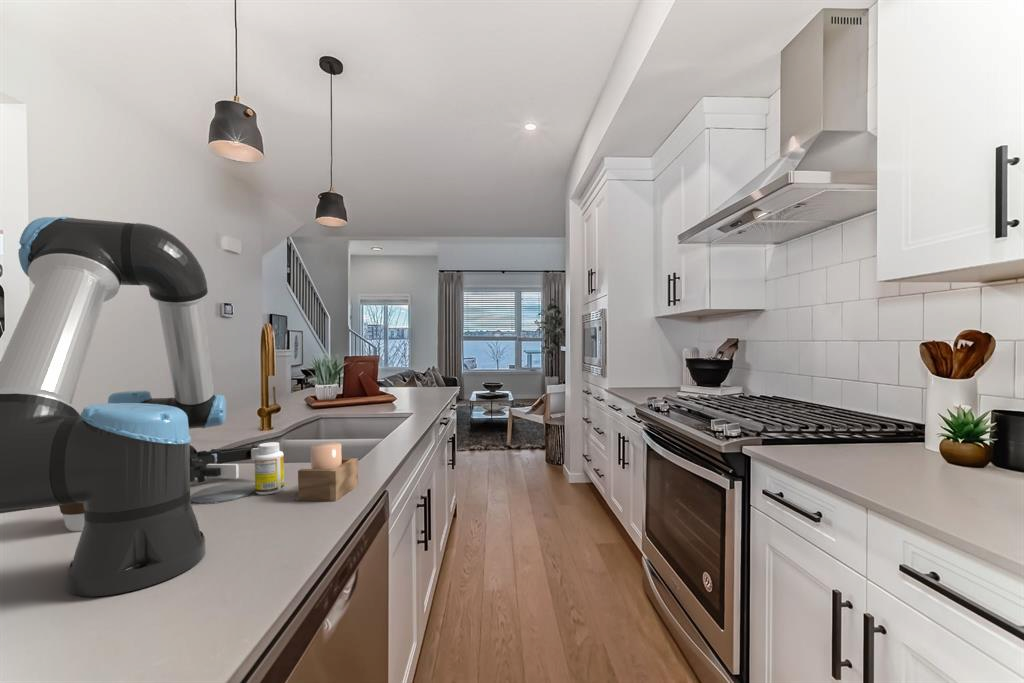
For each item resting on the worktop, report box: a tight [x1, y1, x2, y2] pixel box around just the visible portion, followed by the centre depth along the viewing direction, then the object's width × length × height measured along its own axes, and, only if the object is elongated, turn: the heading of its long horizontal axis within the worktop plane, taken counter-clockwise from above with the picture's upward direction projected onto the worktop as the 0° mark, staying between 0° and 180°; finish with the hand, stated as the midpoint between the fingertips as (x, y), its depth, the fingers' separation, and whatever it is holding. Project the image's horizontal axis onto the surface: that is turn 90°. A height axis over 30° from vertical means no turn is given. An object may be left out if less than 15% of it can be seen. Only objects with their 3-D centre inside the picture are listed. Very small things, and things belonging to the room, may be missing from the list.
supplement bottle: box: [254, 441, 285, 496], centre depth 97 cm, size 6×6×10 cm
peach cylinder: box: [310, 441, 343, 469], centre depth 96 cm, size 6×6×10 cm
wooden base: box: [293, 457, 359, 502], centre depth 96 cm, size 10×9×6 cm
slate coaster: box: [190, 482, 256, 504], centre depth 96 cm, size 12×12×1 cm
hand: (259, 462), depth 98 cm, fingers open, 13 cm apart
